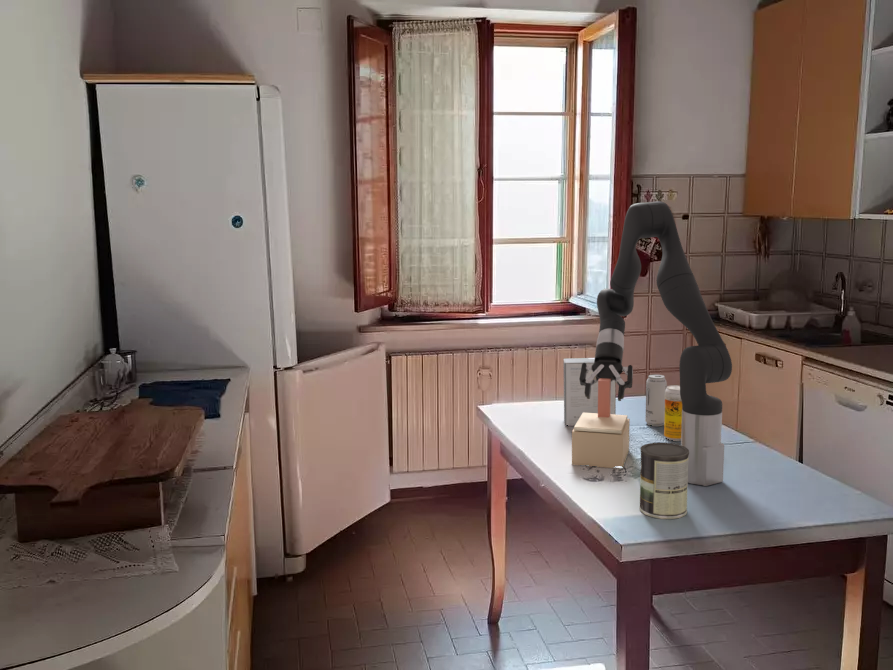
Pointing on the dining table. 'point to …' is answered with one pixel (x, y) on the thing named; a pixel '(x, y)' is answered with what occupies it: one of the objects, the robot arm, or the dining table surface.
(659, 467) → the coffee can
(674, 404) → the beer can
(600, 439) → the carton
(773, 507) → the dining table surface
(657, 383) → the energy drink can
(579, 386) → the hard drive box
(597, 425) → the flap
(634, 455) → the dining table surface
